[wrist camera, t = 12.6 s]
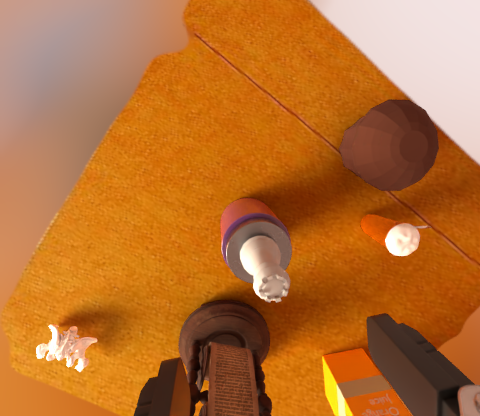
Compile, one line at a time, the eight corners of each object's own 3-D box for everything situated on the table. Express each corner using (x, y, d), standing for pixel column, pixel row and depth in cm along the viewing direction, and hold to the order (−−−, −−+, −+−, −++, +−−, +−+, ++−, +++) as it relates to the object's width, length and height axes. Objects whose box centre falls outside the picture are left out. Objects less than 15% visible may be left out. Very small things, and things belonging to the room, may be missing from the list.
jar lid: (220, 223, 31) (220, 227, 29) (283, 211, 31) (287, 215, 30) (231, 281, 33) (232, 289, 31) (291, 269, 33) (295, 276, 31)
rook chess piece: (255, 226, 30) (269, 254, 22) (286, 248, 30) (310, 282, 23) (231, 258, 30) (236, 296, 22) (262, 278, 31) (278, 321, 23)
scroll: (277, 304, 46) (323, 420, 26) (254, 376, 48) (279, 529, 29) (191, 287, 44) (171, 399, 24) (172, 363, 46) (140, 519, 27)
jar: (215, 202, 41) (215, 223, 30) (269, 193, 41) (289, 209, 30) (225, 253, 43) (229, 291, 32) (277, 243, 43) (298, 277, 32)
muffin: (415, 154, 42) (475, 156, 32) (358, 199, 43) (400, 214, 33) (376, 90, 39) (428, 71, 30) (316, 139, 40) (348, 136, 30)
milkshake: (391, 217, 44) (441, 237, 34) (369, 242, 45) (411, 268, 35) (373, 200, 43) (419, 215, 33) (350, 225, 44) (388, 247, 34)
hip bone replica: (24, 365, 40) (36, 331, 38) (43, 343, 44) (55, 312, 42) (78, 382, 41) (92, 350, 40) (92, 359, 45) (104, 329, 44)
